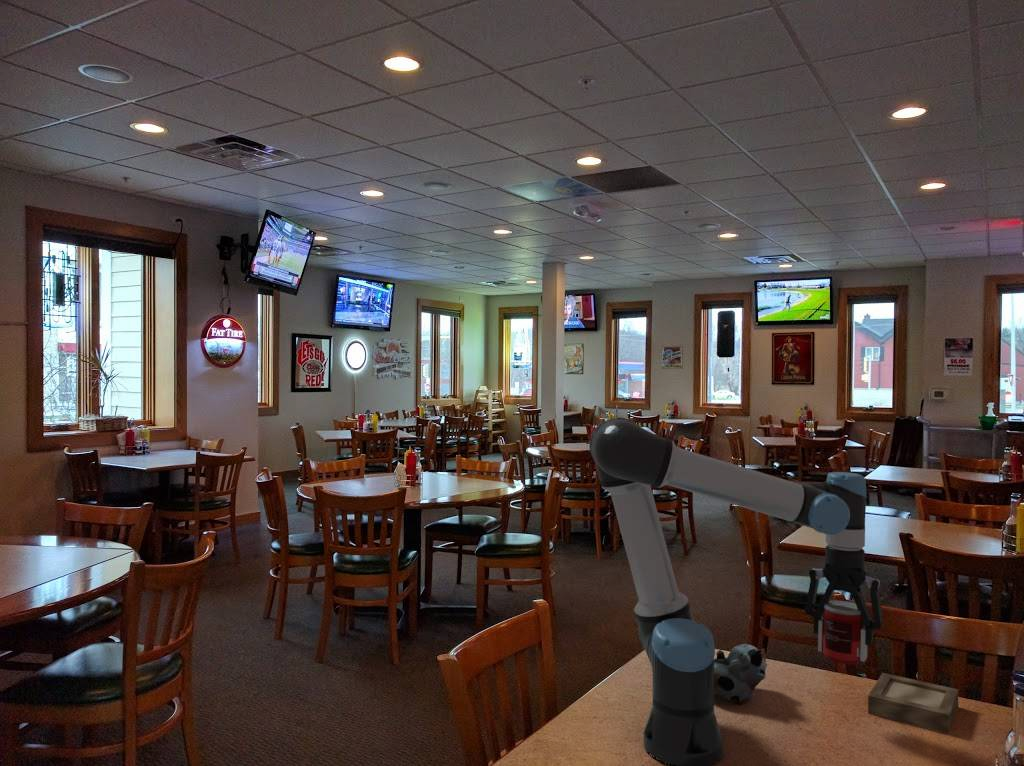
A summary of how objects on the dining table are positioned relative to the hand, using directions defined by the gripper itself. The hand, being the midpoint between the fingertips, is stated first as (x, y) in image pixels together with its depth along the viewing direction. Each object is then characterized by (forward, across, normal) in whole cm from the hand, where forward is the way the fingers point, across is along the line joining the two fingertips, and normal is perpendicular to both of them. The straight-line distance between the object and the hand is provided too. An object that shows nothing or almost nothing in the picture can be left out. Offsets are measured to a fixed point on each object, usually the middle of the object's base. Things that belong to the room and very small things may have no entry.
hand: (842, 654), depth 155 cm
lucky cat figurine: (+14, +23, +2) cm, 27 cm away
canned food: (+1, 0, 0) cm, 1 cm away
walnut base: (+13, -12, -14) cm, 22 cm away
